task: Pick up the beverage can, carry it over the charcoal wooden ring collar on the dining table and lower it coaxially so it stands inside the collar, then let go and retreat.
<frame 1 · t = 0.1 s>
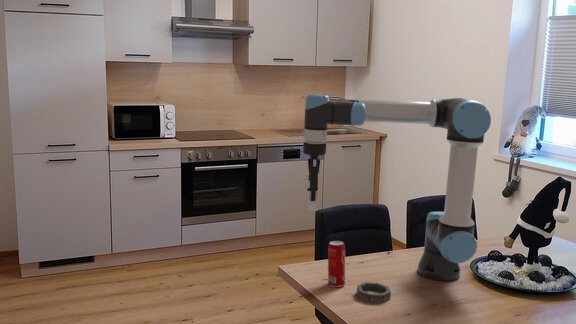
hand: (311, 205, 187), 28 cm above the table, fingers open, 13 cm apart
collar: (373, 295, 184), on the table
beverage can: (335, 284, 192), on the table
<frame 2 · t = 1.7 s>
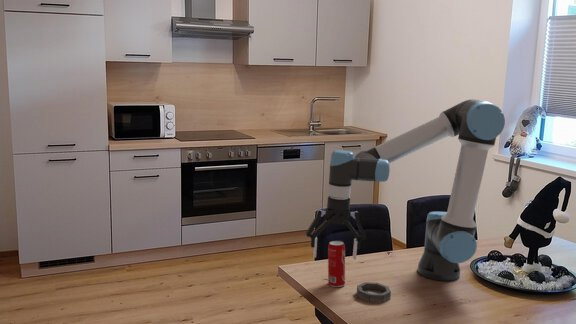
hand: (334, 257, 191), 10 cm above the table, fingers open, 13 cm apart
nothing on the table moved.
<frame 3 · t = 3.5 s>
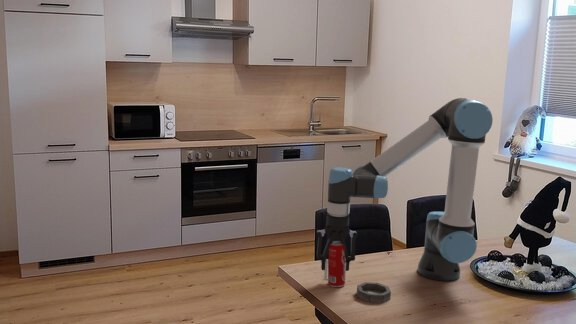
hand: (334, 279, 192), 2 cm above the table, fingers closed on beverage can, 6 cm apart
beverage can: (335, 284, 192), on the table, touching gripper
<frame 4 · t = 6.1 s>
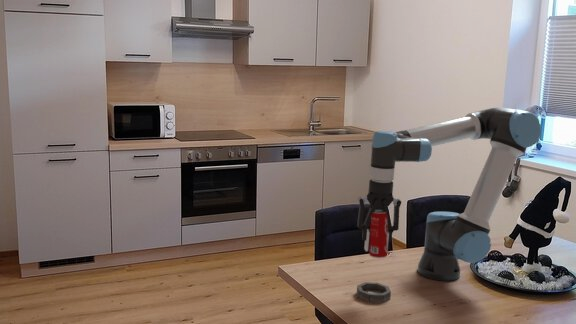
hand: (375, 250, 181), 16 cm above the table, fingers closed on beverage can, 6 cm apart
beverage can: (376, 256, 181), point 14 cm above the table, touching gripper
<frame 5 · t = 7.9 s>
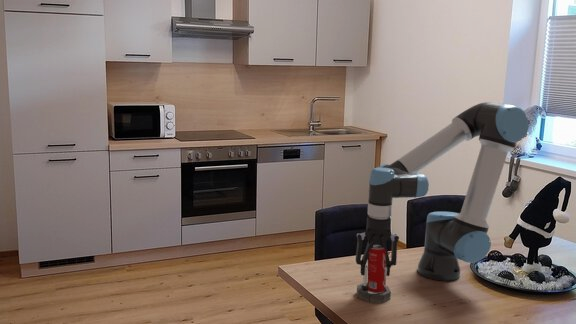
hand: (374, 284, 183), 4 cm above the table, fingers closed on beverage can, 6 cm apart
beverage can: (375, 290, 184), point 2 cm above the table, touching gripper
when the fingers open (4 cm above the table, at t = 8.6 s): beverage can drops 2 cm, resting on collar.
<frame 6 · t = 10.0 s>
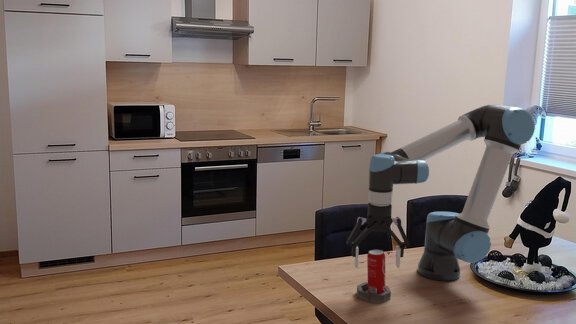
hand: (376, 266, 183), 10 cm above the table, fingers open, 13 cm apart
beverage can: (375, 295, 184), resting on collar
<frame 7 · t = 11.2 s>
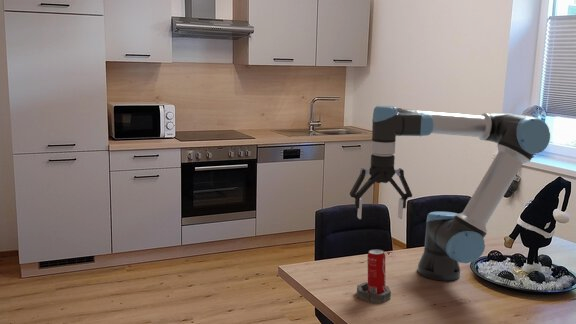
hand: (379, 217, 184), 25 cm above the table, fingers open, 13 cm apart
nothing on the table moved.
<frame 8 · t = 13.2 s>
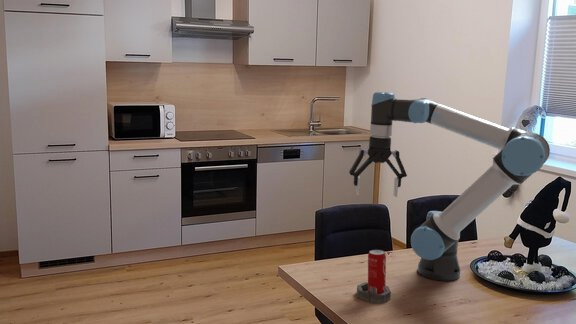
hand: (376, 195, 201), 29 cm above the table, fingers open, 13 cm apart
nothing on the table moved.
at the end: beverage can 0.7 cm from the collar (horizontally); beverage can tilted 0°; the gripper is holding nothing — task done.
